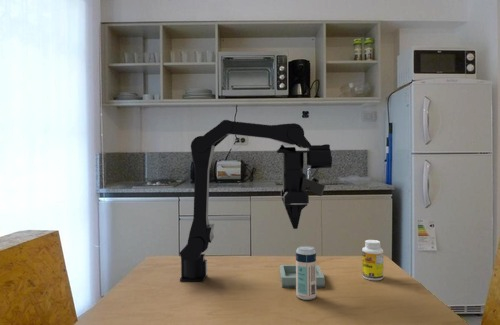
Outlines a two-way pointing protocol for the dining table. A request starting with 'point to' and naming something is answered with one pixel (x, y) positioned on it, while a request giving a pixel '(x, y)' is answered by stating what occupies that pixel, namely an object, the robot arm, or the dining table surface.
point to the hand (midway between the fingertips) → (293, 225)
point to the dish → (290, 276)
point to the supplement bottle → (372, 260)
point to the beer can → (306, 272)
